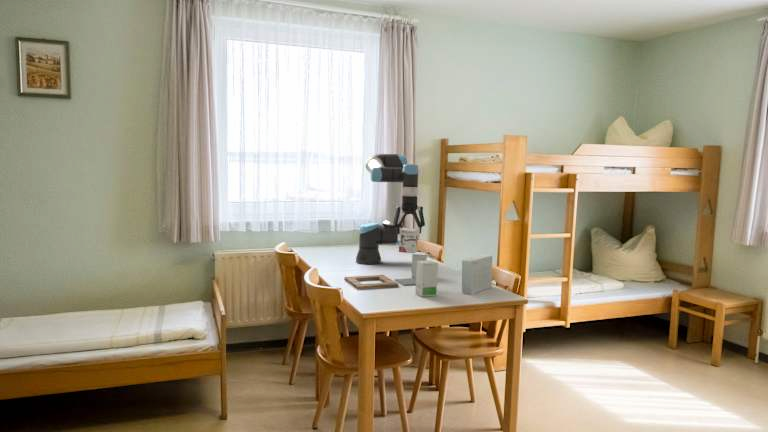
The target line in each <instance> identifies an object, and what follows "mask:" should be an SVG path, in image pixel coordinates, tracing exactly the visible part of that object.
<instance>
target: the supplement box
mask: <svg viewBox="0 0 768 432" xmlns="http://www.w3.org/2000/svg"><path fill="white" fill-rule="evenodd" d="M411 254H412V256H411V258H412V259H411V274H410V275H411V277H410V278H416V270H417V261H428V252H424V251H423V252H421V251H420V252H419V251H417V252H416V253H411Z"/></svg>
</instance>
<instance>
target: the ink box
mask: <svg viewBox="0 0 768 432" xmlns="http://www.w3.org/2000/svg"><path fill="white" fill-rule="evenodd" d="M418 241H419V240H418V229H416V228H409V227H405V228H402V229H401V241H399V245H398V252H399V253H405V254H413V253H416V252H418V243H419V242H418Z"/></svg>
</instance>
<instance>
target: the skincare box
mask: <svg viewBox="0 0 768 432" xmlns="http://www.w3.org/2000/svg"><path fill="white" fill-rule="evenodd" d="M438 267H439V262H437V261H433V260H427V261H417V270H416V285H415V295H417V296H419V297H421V298H422V297H423V298H425V297H426V298H427V297H437V293H438V273H439V269H438Z"/></svg>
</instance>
